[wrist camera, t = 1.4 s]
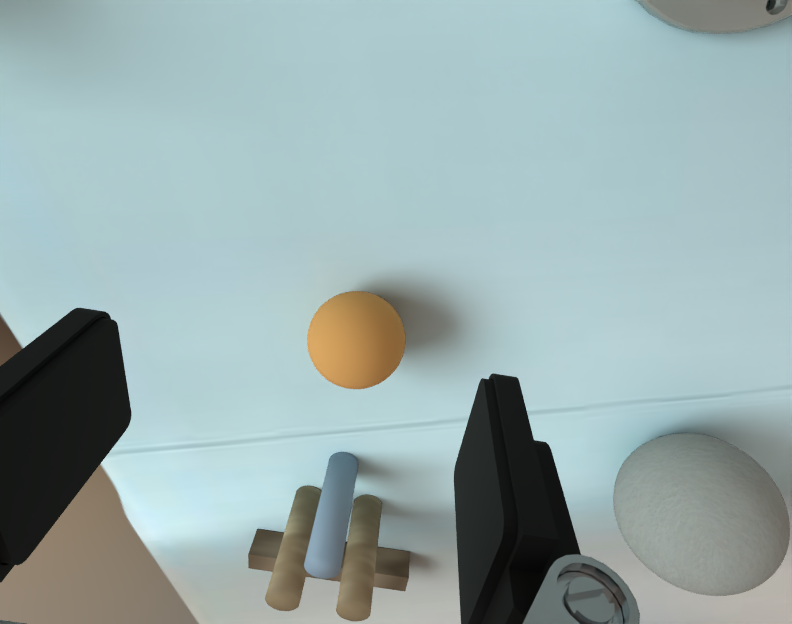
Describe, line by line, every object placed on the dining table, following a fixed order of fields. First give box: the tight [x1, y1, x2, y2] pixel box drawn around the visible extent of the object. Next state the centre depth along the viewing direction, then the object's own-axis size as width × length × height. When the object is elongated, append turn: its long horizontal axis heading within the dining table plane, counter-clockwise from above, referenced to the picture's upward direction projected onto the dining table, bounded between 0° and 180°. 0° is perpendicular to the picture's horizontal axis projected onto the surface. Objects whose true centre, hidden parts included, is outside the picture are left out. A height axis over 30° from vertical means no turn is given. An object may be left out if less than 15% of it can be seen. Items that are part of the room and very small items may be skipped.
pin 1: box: [265, 486, 322, 611], centre depth 38 cm, size 2×2×9 cm
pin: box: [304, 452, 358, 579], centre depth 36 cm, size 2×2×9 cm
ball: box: [613, 433, 790, 596], centre depth 33 cm, size 10×10×10 cm
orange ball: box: [307, 291, 405, 389], centre depth 30 cm, size 6×6×6 cm
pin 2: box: [336, 495, 382, 621], centre depth 38 cm, size 2×2×9 cm
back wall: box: [248, 529, 410, 591], centre depth 44 cm, size 14×2×2 cm, turn 82°
